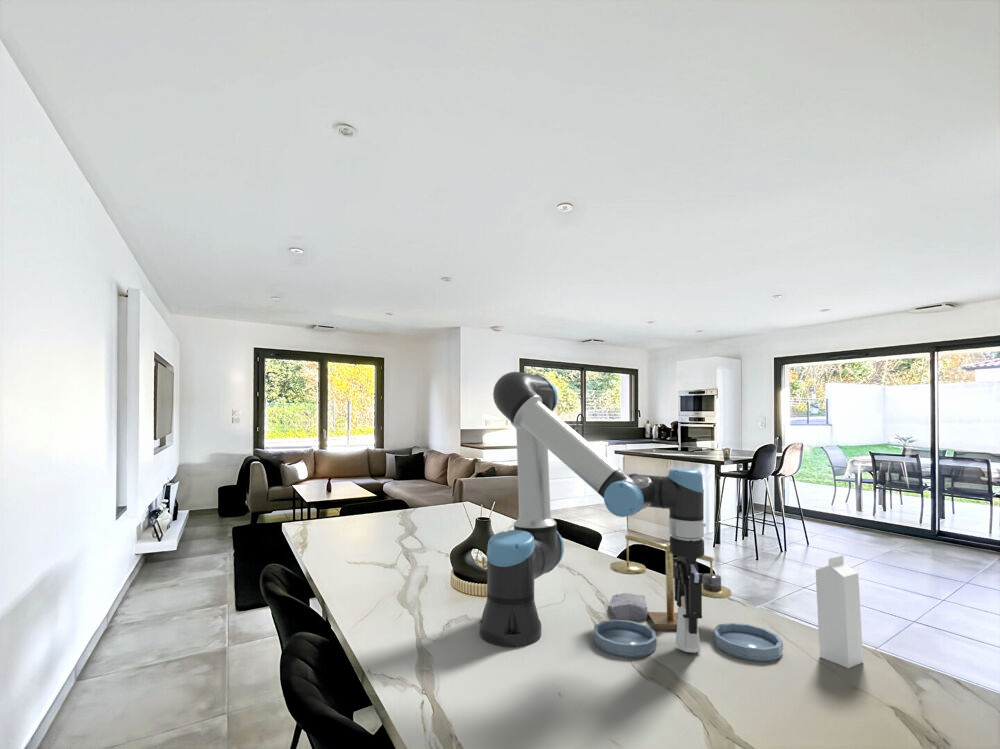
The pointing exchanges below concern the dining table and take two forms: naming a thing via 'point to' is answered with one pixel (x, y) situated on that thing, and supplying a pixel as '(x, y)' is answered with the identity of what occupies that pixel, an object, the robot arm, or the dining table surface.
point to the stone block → (629, 606)
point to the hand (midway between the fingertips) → (687, 641)
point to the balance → (670, 584)
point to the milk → (839, 613)
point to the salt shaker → (683, 630)
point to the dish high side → (625, 638)
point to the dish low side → (748, 642)
